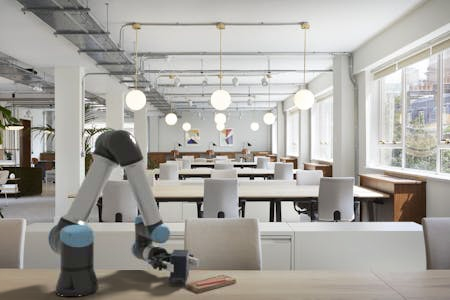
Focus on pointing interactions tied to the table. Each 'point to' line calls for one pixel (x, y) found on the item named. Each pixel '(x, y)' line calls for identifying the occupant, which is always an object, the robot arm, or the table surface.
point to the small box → (179, 266)
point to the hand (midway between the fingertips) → (185, 265)
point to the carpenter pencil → (212, 282)
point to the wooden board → (203, 288)
